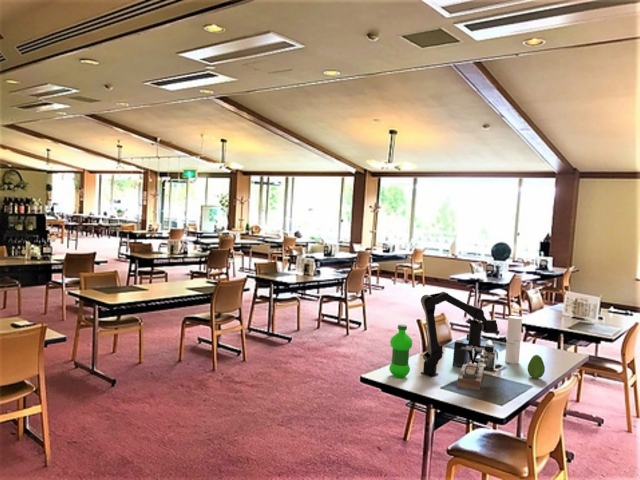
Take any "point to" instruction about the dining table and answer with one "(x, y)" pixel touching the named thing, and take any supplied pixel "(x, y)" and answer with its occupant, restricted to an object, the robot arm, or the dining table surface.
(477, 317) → the robot arm
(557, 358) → the dining table surface
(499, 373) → the dining table surface
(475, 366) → the button cream
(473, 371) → the button sage
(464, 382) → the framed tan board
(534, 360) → the avocado
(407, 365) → the plastic bottle
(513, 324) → the cylindrical container
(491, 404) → the dining table surface
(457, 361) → the small box
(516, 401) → the dining table surface
